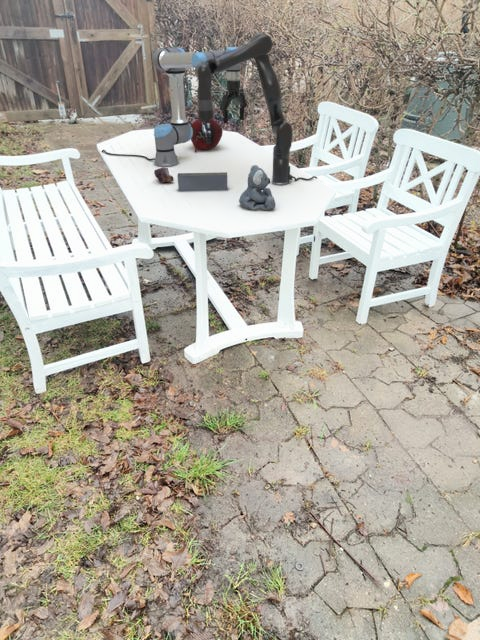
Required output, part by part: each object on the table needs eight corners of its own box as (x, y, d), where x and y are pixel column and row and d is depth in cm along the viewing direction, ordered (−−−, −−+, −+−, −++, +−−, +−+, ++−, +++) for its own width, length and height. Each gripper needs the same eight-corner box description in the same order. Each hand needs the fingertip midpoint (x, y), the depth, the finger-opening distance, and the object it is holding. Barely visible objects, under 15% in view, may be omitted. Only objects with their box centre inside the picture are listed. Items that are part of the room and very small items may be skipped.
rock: (168, 180, 269) (152, 182, 265) (166, 165, 265) (150, 167, 261) (175, 182, 260) (159, 184, 256) (174, 166, 256) (157, 168, 252)
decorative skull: (188, 123, 330) (185, 120, 306) (219, 116, 329) (218, 112, 306) (194, 153, 337) (192, 152, 313) (225, 146, 336) (225, 145, 313)
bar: (178, 191, 249) (177, 175, 244) (179, 188, 253) (177, 173, 248) (227, 190, 250) (227, 174, 245) (227, 187, 254) (227, 172, 249)
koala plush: (276, 211, 223) (277, 171, 212) (240, 212, 222) (240, 172, 211) (271, 199, 237) (272, 161, 226) (237, 200, 236) (237, 162, 225)
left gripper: (222, 82, 237) (223, 125, 249) (253, 78, 252) (253, 119, 264) (212, 81, 241) (213, 124, 253) (243, 77, 256) (243, 117, 268)
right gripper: (215, 110, 221) (216, 145, 230) (210, 105, 233) (211, 138, 242) (200, 111, 220) (202, 146, 229) (195, 106, 231) (198, 139, 241)
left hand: (233, 121), depth 258 cm, fingers open, 13 cm apart
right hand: (207, 142), depth 235 cm, fingers open, 8 cm apart
